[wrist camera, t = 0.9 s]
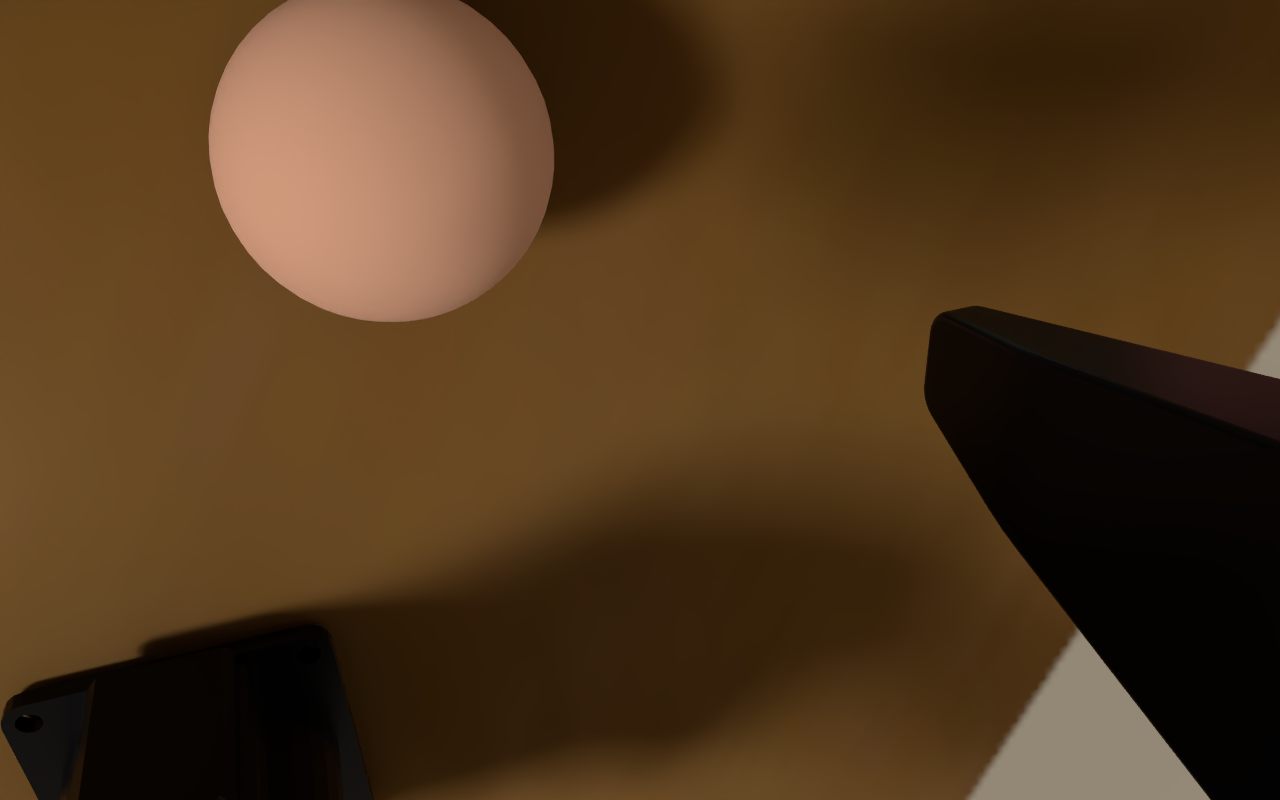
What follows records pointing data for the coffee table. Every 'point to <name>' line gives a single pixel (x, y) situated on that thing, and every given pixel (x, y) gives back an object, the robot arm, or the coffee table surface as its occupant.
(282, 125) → the ball
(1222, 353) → the coffee table surface
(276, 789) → the robot arm
